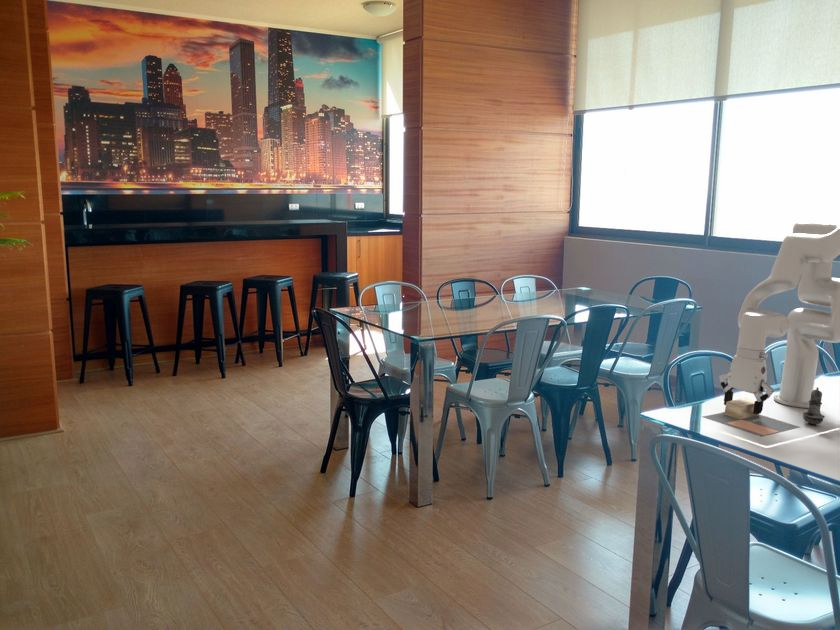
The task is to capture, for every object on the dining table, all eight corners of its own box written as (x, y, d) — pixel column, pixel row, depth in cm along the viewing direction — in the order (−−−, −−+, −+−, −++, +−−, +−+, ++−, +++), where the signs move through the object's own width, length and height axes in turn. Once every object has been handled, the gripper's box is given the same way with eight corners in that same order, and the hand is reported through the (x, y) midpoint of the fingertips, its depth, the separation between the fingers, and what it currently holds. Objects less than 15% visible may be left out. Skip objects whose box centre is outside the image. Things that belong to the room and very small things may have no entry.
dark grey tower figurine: (822, 425, 216) (828, 386, 214) (823, 431, 211) (830, 391, 209) (799, 422, 218) (805, 383, 216) (801, 427, 213) (807, 387, 211)
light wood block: (743, 410, 225) (745, 398, 224) (758, 415, 221) (760, 402, 220) (724, 414, 219) (726, 401, 218) (739, 419, 215) (741, 406, 214)
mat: (741, 410, 227) (741, 408, 226) (800, 429, 211) (800, 426, 211) (701, 418, 216) (701, 416, 215) (761, 438, 200) (761, 436, 200)
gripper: (784, 359, 212) (776, 415, 214) (731, 347, 226) (724, 400, 229) (770, 361, 208) (761, 418, 210) (716, 348, 222) (709, 402, 224)
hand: (742, 409), depth 219 cm, fingers open, 9 cm apart
